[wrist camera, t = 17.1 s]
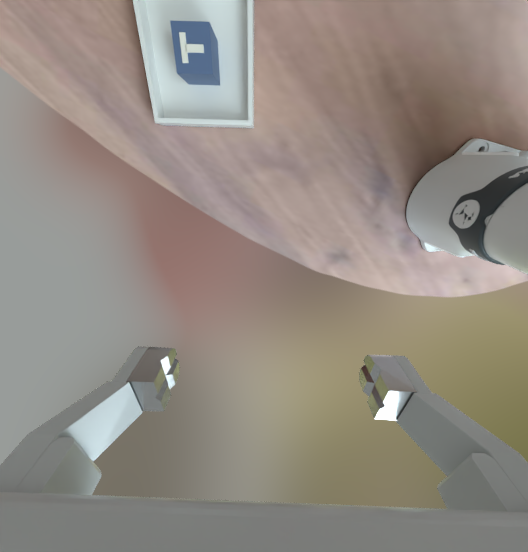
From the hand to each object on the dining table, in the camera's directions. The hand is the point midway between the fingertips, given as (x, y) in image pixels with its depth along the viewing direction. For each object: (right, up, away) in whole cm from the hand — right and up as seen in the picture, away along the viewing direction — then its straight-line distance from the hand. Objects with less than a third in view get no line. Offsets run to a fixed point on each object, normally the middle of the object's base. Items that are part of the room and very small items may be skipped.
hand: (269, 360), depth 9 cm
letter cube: (-9, +33, +20) cm, 40 cm away
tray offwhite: (-9, +33, +21) cm, 40 cm away
